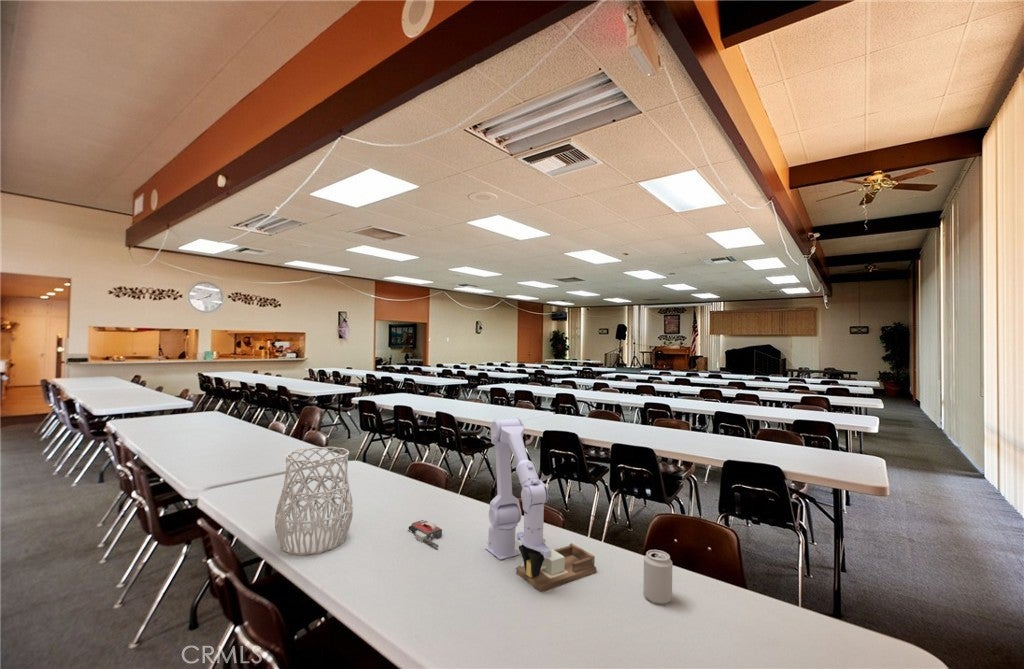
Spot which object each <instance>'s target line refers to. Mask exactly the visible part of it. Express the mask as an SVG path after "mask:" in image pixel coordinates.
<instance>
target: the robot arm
mask: <svg viewBox="0 0 1024 669" xmlns="http://www.w3.org/2000/svg"><path fill="white" fill-rule="evenodd" d="M524 427H525V426H524V422H523V421H522V419H521V418H519V417H517V418H504V419H502V418H501V419H498V418H497V419H494V420H493V421H492V423H491V425H490V440H491V444H492V445H494V448H495V467H496V468H495V469H496V471H495V472H496V491H497V494H496V495H495V497H493V498H492V500H490V502H489V510H488V519H489V520H488V521H489V523H490V525H489V527H488V537H487V538H488V542H487V546H485V550H487V551H488V552H489V553H491V555H493V556H494V557H496V558H498V560H501V561H502V560H505V559H509V558H512V557H516V556H519V555H521V557H522V561H523V564H524V565H523V566H525V570H526V567H527V560H530V561H531V572H532V576H533V577H536V576H539V573H540V570H541V566H542V563H543V561H544V559H547V558H550V557H551V550H550V548H549V546H548V545H547V544H546V538H544V519H545V518H544V515H545V512H544V510H545V504H546V503H548V500H549V492H548V491H549V490H548V487H547V485H546V484H545V483H544V482H543V480H542V479H540V478H539V475H538V473H537V470H536V467H535V465H534V462H533V461H531V460H529V458H528V453H527V450H526V447H525V442H524V439H523V437H524V434H525V433H524V432H525V428H524ZM511 452H512V454H513V456H514V459H515V461H516V463H517V465H516V468H515V472H516V475H517V477H518V480H519V483H520V487H521V492H520V497H521V498H520V499H521V502H522V510H523V512H524V514H523V513H522V510H521V504H520V500H519V499H518V498H517V497H516V496H514V495H513V484H512V480H513V479H512V466H511V465H512V464H511ZM522 514H523V515H522ZM522 516H523V531H520V532H516V529H517V527H518V523H520V522H521V520H522ZM516 540H517V541H520V542H521V545H519V546H518V550H517V549H516Z"/></svg>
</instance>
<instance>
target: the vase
mask: <svg viewBox="0 0 1024 669" xmlns="http://www.w3.org/2000/svg"><path fill="white" fill-rule="evenodd" d="M329 449H330V450H329ZM322 450H324V451H327V452H325V453H324V454H323V455H322V454H321V453H320V451H322ZM307 451H311V452H312V453H311V454H310V455H309V456H307V455H305V454H304V453H306V452H307ZM334 451H338V452H339V453H338V454H337V455H336V454H335V453H334ZM344 453H345V454H344ZM294 454H298V455H297V457H296V458H294V457H293V456H294ZM315 454H316V455H318V456H319V457H320V458H319V459H313V460H312V459H311V457H312V456H314V455H315ZM329 454H331V456H333V457H331V458H329V459H328V458H326V456H327V455H329ZM349 455H350V451H349V449H346V448H344V447H336V446H323V447H322V446H316V447H307V448H298V449H296V450H294V451H290V452H287V453H286V454H285V464H286V466H285V474H284V476H285V477H284V482H283V486H282V490H281V494H280V497H279V500H278V503H277V506H276V511H275V515H274V528H275V532H276V533H275V534H276V538H277V541H278V543H279V545H280V549H281V550H282V551H283V552H285V553H286V554H289V555H296V556H297V555H298V556H308V555H317V554H321V553H325V552H327V550H328V551H331V550H334V549H336V548H337V547H338V545H339V546H340V545H342V544H344V542H345V539H346V537H347V535H348V532H349V530H350V526H351V523H352V520H353V515H354V514H353V512H354V503H353V502H354V501H353V496H352V493H351V489H350V484H349V482H350V481H349V474H348V463H349ZM301 456H303V457H304V458H305V459H299V458H300V457H301ZM342 459H343V461H342V462H340V460H342ZM329 462H330V463H329ZM299 464H300V465H299ZM310 464H311V465H312V468H310V467H309V466H308V465H310ZM325 464H326V465H327V466H326V465H325ZM295 465H296V466H295ZM335 465H337V466H338V467H339V468H338V470H337V472H336V474H335V473H334V471H333V470H332V468H333V467H334V466H335ZM343 465H344V466H343ZM303 467H305V468H306V469H308V470H309V471H310V472H309V473H308V474H307V475H306V476H305V473H304V472H303ZM319 467H323V468H324V470H325V471H324V473H323V474H321V473H320V472H319V470H318V468H319ZM343 468H344V469H343ZM293 469H294V470H295V472H294V473H293V475H292V472H293ZM340 472H341V476H340ZM327 473H329V475H328V474H327ZM312 474H313V475H312ZM297 477H299V478H297ZM313 481H314V482H317V484H316V485H315V487H314V489H313V490H312V488H310V486H309V484H310V483H312V482H313ZM328 481H330V482H331V485H330V487H328V486H327V485H326V484H325V483H326V482H328ZM340 483H342V485H340ZM298 484H300V485H299V487H298V488H297V489H296V490H297V491H296V492H295V490H294V488H295V487H296V486H297V485H298ZM321 488H322V490H323V491H320V490H321ZM304 489H305V492H304ZM336 495H338V496H336ZM318 499H319V500H320V499H322V500H324V501H323V502H322V503H321V502H320V501H319V500H318ZM288 500H289V501H290V502H287V501H288ZM336 500H339V503H337V501H336ZM303 501H304V502H306V503H305V504H304V505H302V504H301V502H303ZM329 508H330V510H329ZM308 512H309V518H310V519H309V520H308ZM315 512H316V515H315ZM302 514H303V515H302ZM321 514H322V515H321ZM331 515H332V516H331ZM291 517H292V519H291ZM330 520H331V523H330ZM325 522H326V523H325ZM308 524H310V527H309V528H308V526H307V525H308ZM329 524H330V525H329ZM337 525H338V526H337ZM288 526H289V527H288ZM298 527H299V530H298ZM341 543H342V544H341ZM335 547H336V548H335ZM333 548H334V549H333ZM330 549H331V550H330ZM324 551H325V552H324Z"/></svg>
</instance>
